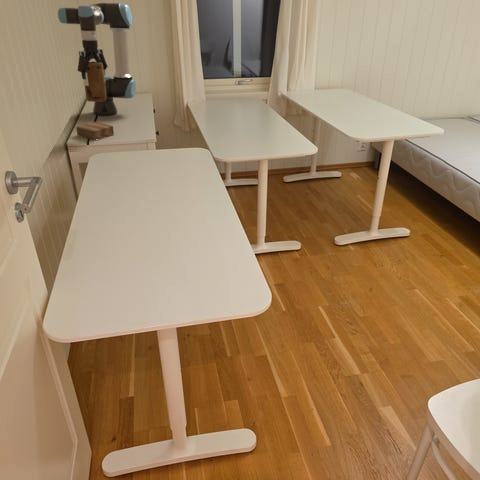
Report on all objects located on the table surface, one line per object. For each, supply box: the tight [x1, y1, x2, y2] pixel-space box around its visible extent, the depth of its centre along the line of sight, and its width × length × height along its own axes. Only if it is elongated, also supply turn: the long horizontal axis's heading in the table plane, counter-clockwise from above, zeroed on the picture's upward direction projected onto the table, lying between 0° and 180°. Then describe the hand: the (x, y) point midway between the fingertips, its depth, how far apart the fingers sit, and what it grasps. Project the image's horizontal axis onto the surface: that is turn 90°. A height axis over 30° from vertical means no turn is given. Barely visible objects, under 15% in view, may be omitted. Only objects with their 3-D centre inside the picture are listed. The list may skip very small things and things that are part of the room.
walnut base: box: [75, 121, 115, 141], centre depth 253 cm, size 14×14×5 cm
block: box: [84, 61, 106, 103], centre depth 240 cm, size 11×8×20 cm
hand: (94, 83), depth 241 cm, fingers closed on block, 11 cm apart
